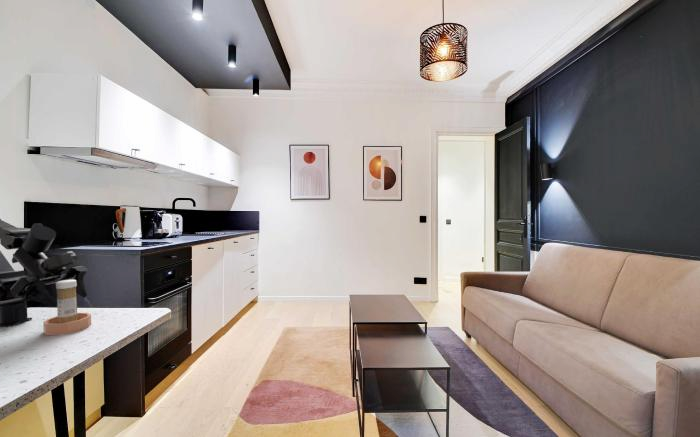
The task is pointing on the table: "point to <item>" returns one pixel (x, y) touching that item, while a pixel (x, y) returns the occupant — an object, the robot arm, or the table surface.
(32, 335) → the table surface
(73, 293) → the sprinkles bottle
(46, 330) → the terracotta bowl
